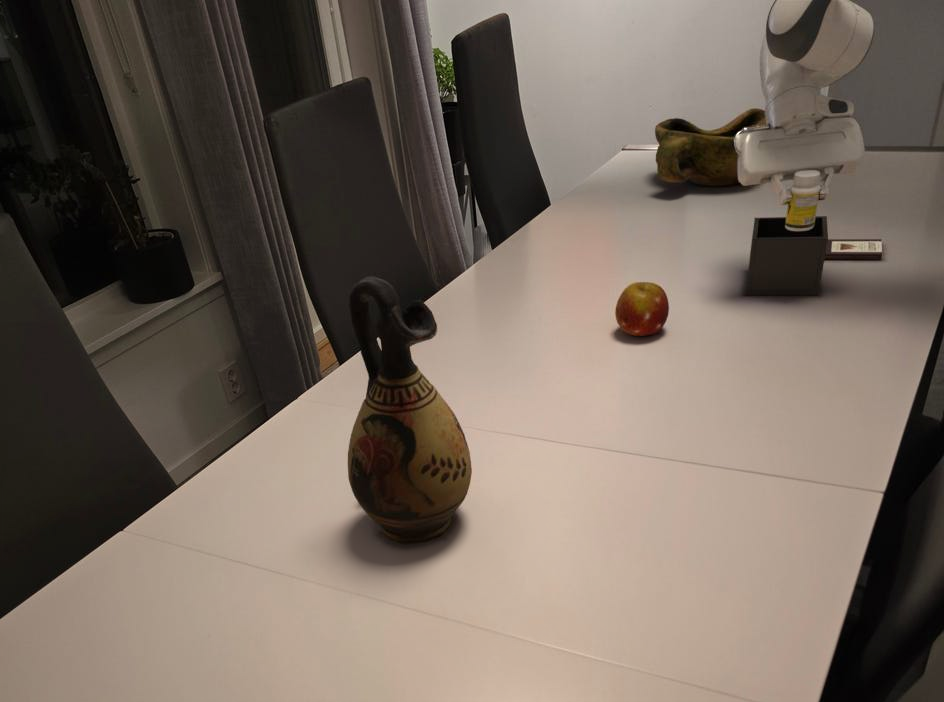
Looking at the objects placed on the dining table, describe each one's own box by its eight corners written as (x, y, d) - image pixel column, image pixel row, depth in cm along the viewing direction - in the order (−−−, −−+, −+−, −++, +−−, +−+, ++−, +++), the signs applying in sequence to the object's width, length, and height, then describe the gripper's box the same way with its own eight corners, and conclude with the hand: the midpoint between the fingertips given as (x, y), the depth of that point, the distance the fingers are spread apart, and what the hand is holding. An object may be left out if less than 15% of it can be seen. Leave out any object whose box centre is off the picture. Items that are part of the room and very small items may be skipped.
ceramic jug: (502, 514, 108) (482, 275, 88) (414, 571, 100) (370, 324, 81) (415, 474, 118) (380, 251, 98) (329, 523, 110) (272, 293, 91)
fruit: (666, 343, 142) (669, 295, 137) (613, 344, 144) (613, 297, 139) (668, 320, 149) (670, 274, 144) (616, 322, 151) (617, 276, 146)
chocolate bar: (785, 239, 171) (881, 239, 166) (784, 244, 172) (880, 244, 166) (782, 254, 165) (882, 254, 160) (782, 259, 166) (880, 259, 160)
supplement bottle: (787, 222, 145) (795, 168, 140) (815, 223, 143) (825, 169, 138) (782, 231, 142) (790, 176, 137) (811, 232, 140) (820, 177, 135)
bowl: (680, 156, 232) (681, 94, 222) (789, 154, 219) (795, 87, 208) (627, 210, 210) (625, 144, 200) (745, 210, 197) (749, 139, 186)
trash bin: (817, 271, 159) (826, 215, 153) (818, 295, 151) (828, 237, 144) (748, 271, 163) (754, 217, 156) (745, 295, 154) (751, 239, 148)
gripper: (738, 116, 137) (748, 197, 137) (863, 101, 137) (874, 181, 136) (727, 141, 144) (737, 218, 143) (847, 126, 143) (857, 204, 142)
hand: (804, 200), depth 139 cm, fingers closed on supplement bottle, 5 cm apart
